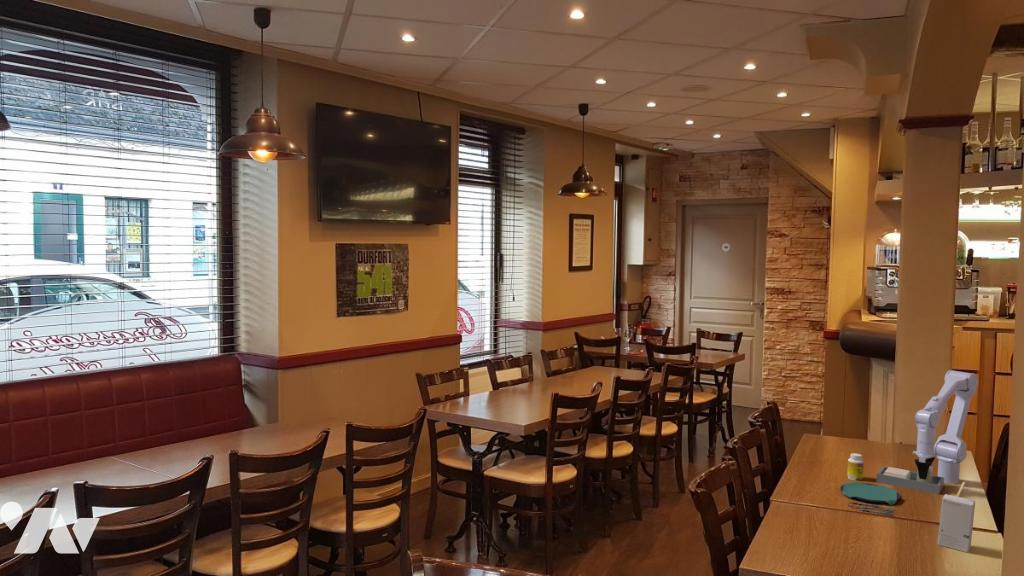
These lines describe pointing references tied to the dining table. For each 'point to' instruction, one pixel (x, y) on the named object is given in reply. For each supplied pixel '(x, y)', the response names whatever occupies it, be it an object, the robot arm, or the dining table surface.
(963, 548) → the skincare box
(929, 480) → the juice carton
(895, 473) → the beige flat block
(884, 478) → the tote
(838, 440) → the dining table surface
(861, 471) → the supplement bottle
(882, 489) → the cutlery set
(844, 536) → the dining table surface
